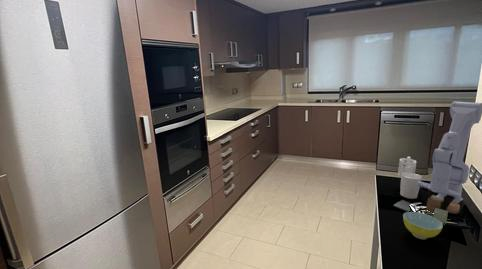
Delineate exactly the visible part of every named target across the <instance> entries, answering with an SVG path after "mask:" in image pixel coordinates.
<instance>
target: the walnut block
mask: <svg viewBox="0 0 482 269" xmlns="http://www.w3.org/2000/svg"><path fill="white" fill-rule="evenodd" d="M443 202H444V199H443V198H440V197H437V195H434V194H432V195H430V197H429V198H428V200H427V206H425V211H426V210H428V211H430V212H432V213H434V211H435V208H438V209H442V208H443ZM432 213H431V214H432Z"/></svg>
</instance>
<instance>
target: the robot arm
mask: <svg viewBox="0 0 482 269" xmlns="http://www.w3.org/2000/svg"><path fill="white" fill-rule="evenodd" d="M449 107H450V108H449V114H450V117H451V119H452V121H451V122H450V123H451V124H450V127H449V131H448V132H446V133H444V134H443V136H442V139H440V140H441V141H440V142H439V145H438V148H435V149H434V151H433V153H432V166H433V167H432V173H431V178H430V183H428V182H424V181H421V182H418V184H417V187H420V188H421V189H419V190H420V191H419V192H420V193H421V196H422V199H423V206H424V207H426V206H427V200H428V198H429V197H430V196H431V192H433V193H436V194H437V193H438V194H437V195H436V196H437V197H440V198H443V199H444V202H443V208H442V210H445V211H446V210H447V208H448V206H449V205H450V203H451V202H452V201H453V202H456V203H458V204H459V203H461V202H462V201H463V200H464V198H462V194H463V193H462V190H463V188H464V187H463V184H466V183H467V181H468V178H469V172H470V166H468V164H466V162H464V158H465V154H466V149H467V145H468V141H469V138H470V134H471V131H472V128H473V126H474V125H475V124H479V123H480V121H482V120H481V118H482V102H467V101H456V100H454V101H452V103H451V104H450V106H449Z"/></svg>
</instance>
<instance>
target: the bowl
mask: <svg viewBox="0 0 482 269" xmlns="http://www.w3.org/2000/svg"><path fill="white" fill-rule="evenodd" d="M402 218H403V219H402V221H403V223H404V226H405V228H406V229H407V230H408V231H409V232H410V233H411V234H412V236H413V237H415V238H416V239H420V240H427V239H428V238H434V237H436V236H437V235H439V234H440V233H441V232H442V230H443V227H444V226H443V225H444V224H442V223H441V222H440V221H439V220H437V219H436V218H434V217H433V216H432V215H429V214H426V213H423V212H419V211H417V212H407V211H405V212H404V213H403V214H402Z"/></svg>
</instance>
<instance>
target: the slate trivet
mask: <svg viewBox="0 0 482 269" xmlns="http://www.w3.org/2000/svg"><path fill="white" fill-rule="evenodd" d="M410 204H413V202H412V203H411V202H409V201H407V200H404V199H401V200H400V201H398V202H396V203H395V204H393V207H395V208H398V209H400V210H403V211H405V212H409V211H410V207H409V205H410Z"/></svg>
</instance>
